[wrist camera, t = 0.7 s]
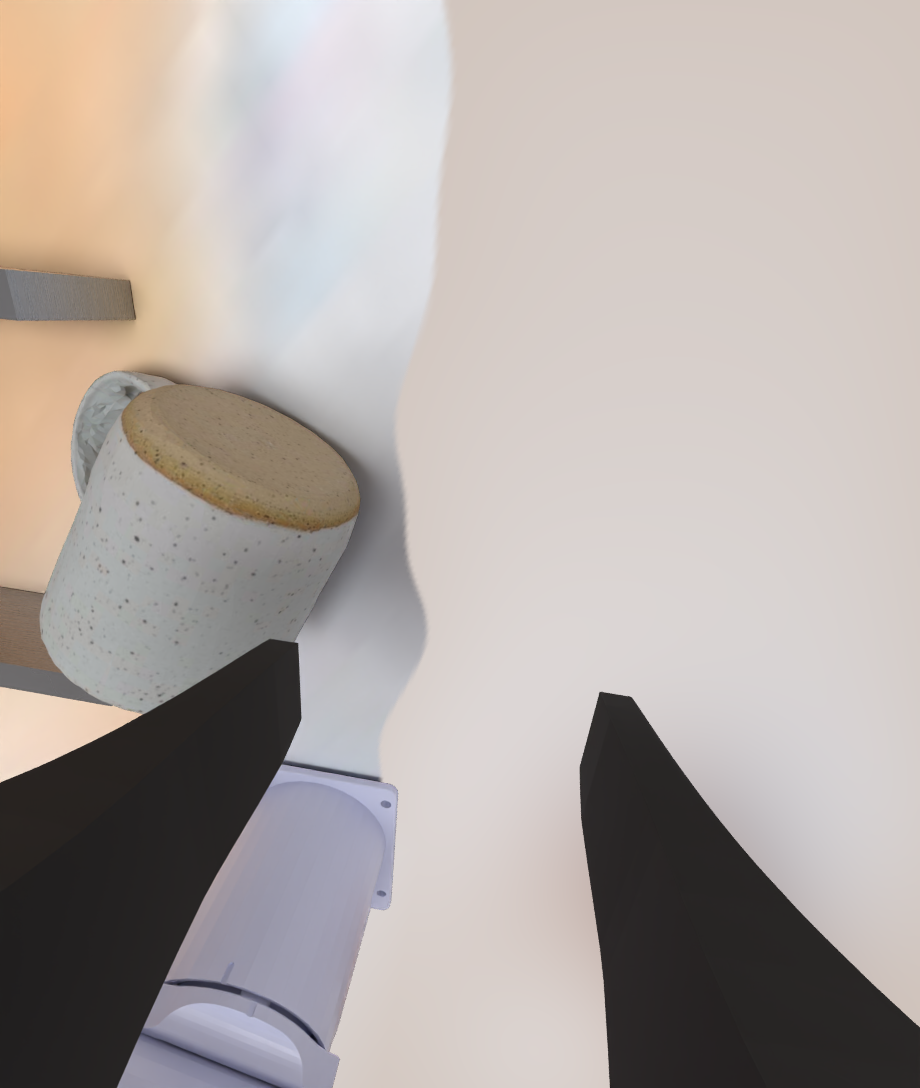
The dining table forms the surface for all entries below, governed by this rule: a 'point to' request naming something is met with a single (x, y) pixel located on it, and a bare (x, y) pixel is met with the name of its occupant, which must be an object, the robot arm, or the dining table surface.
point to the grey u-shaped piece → (13, 615)
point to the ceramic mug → (188, 536)
